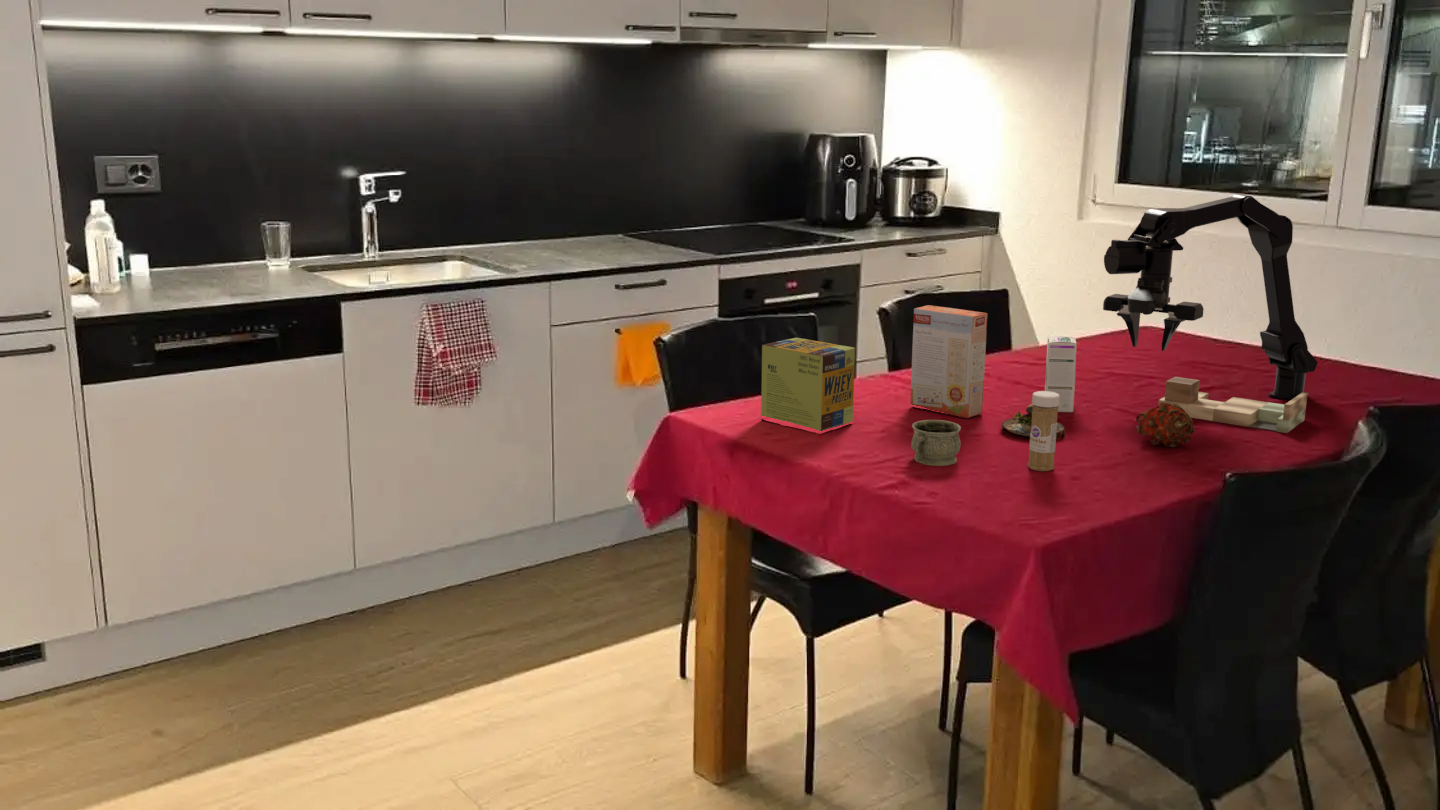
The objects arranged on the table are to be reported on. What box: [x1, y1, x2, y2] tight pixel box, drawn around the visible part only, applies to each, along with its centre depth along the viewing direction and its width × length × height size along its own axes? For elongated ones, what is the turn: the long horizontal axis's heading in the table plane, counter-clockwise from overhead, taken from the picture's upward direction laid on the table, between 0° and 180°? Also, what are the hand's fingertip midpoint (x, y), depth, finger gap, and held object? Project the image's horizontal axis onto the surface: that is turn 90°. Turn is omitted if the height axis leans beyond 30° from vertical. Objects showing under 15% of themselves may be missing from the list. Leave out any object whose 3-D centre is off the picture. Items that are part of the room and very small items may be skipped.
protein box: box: [760, 337, 856, 431], centre depth 250 cm, size 10×15×16 cm
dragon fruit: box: [1135, 403, 1197, 448], centre depth 237 cm, size 8×8×12 cm
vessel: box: [910, 419, 962, 467], centre depth 228 cm, size 12×9×6 cm
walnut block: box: [1164, 376, 1201, 404], centre depth 259 cm, size 5×5×4 cm
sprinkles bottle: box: [1027, 390, 1060, 472], centre depth 222 cm, size 5×5×14 cm
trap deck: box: [1157, 391, 1309, 434], centre depth 256 cm, size 12×25×6 cm, turn 51°
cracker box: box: [909, 304, 988, 419], centre depth 258 cm, size 14×6×21 cm, turn 47°
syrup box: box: [1044, 336, 1078, 413], centre depth 261 cm, size 6×6×14 cm
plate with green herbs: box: [1000, 403, 1066, 441], centre depth 244 cm, size 12×12×8 cm
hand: (1148, 348), depth 262 cm, fingers open, 6 cm apart
